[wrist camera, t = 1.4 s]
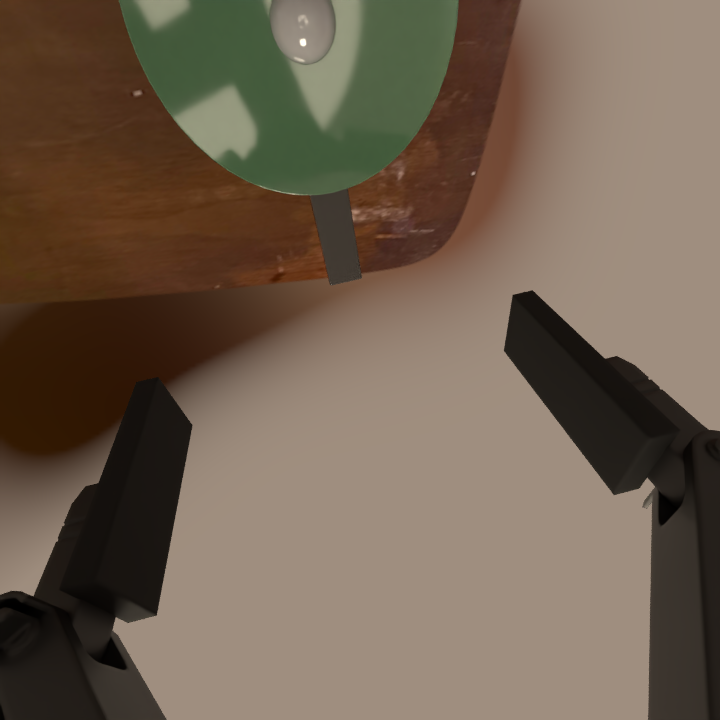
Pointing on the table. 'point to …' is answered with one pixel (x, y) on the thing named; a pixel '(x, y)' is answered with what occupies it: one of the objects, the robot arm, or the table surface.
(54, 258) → the table surface
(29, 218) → the table surface
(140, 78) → the table surface
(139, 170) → the table surface
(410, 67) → the pot
